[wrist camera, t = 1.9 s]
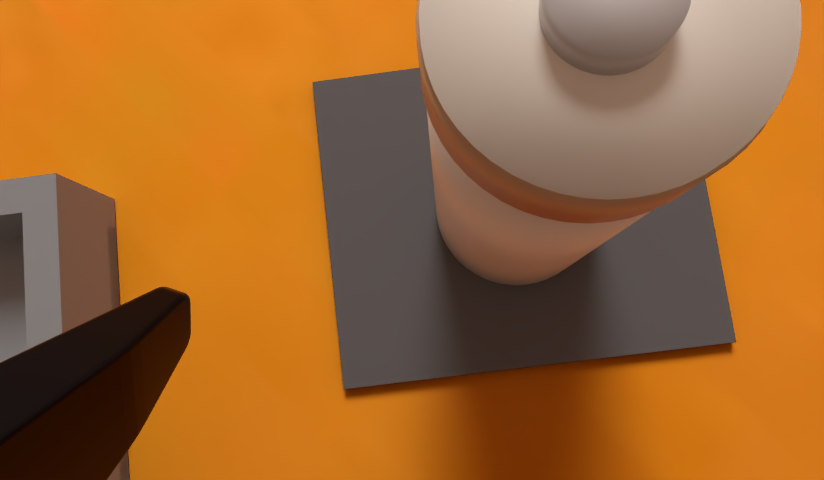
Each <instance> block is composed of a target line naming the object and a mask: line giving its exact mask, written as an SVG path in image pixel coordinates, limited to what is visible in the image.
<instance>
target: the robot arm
mask: <svg viewBox="0 0 824 480" xmlns="http://www.w3.org/2000/svg"><path fill="white" fill-rule="evenodd" d="M190 334H191V313H190V298H189V296H188V295H187V294H185V293H183V292H180V291H177V290H174V289H171V288H168V287H159V288H156V289H154V290H152V291H150V292H148V293H146V294H144V295H142V296H139V297H137V298H135V299H133V300H131V301H129V302H127V303H125V304H123V305H120V306H118V307H116V308H114V309H112V310H110V311H108V312H106V313H104V314H101V315H99V316H97V317H95V318H93V319H91V320H89V321H87V322H85V323H82V324H80V325H78V326H76V327H74V328H72V329H70V330H68V331H66V332H63V333H61V334H59V335H57V336H55V337H53V338H51V339H49V340H47V341H44V342H42V343H40V344H38V345H36V346H34V347H32V348H30V349H28V350H25V351H23V352H21V353H19V354H17V355H15V356H13V357H11V358H9V359H6V360H4V361H2V362H0V480H107V479H108V478H109V476H110V475H111V474H112V472H113V471H114V469H115V468H116V467H117V465H118V464H119V462H120V461H121V459H122V458H123V457H124V455H125V454H126V452H127V451H128V449H129V448H130V446H131V445H132V443H133V442H134V440H135V439H136V437H137V436H138V434H139V433H140V431H141V429H142V427H143V426H144V424H145V422H146V421H147V419H148V417H149V415H150V413H151V411H152V410H153V408H154V406H155V404H156V402H157V400H158V399H159V397H160V395H161V393H162V391H163V390H164V388H165V386H166V384H167V382H168V380H169V379H170V377H171V375H172V373H173V371H174V369H175V368H176V366H177V364H178V362H179V360H180V358H181V357H182V355H183V353H184V351H185V349H186V347H187V345H188V342H189V339H190Z"/></svg>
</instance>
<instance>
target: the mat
mask: <svg viewBox="0 0 824 480" xmlns="http://www.w3.org/2000/svg"><path fill="white" fill-rule="evenodd" d="M313 92H314V101H315V111H316V121H317V131H318V141H319V150H320V160H321V170H322V180H323V189H324V199H325V209H326V219H327V229H328V238H329V248H330V258H331V268H332V278H333V287H334V297H335V307H336V317H337V326H338V336H339V346H340V356H341V366H342V375H343V385H344V389H349V388H358V387H366V386H374V385H383V384H391V383H399V382H408V381H416V380H424V379H433V378H441V377H449V376H458V375H466V374H474V373H483V372H491V371H499V370H508V369H516V368H524V367H533V366H541V365H549V364H558V363H566V362H574V361H583V360H591V359H599V358H608V357H616V356H624V355H633V354H641V353H649V352H658V351H666V350H674V349H683V348H691V347H699V346H708V345H716V344H725V343H733V342H736V339H735V333H734V328H733V323H732V318H731V312H730V307H729V302H728V297H727V291H726V286H725V281H724V276H723V271H722V265H721V260H720V255H719V250H718V244H717V239H716V234H715V229H714V223H713V218H712V213H711V208H710V203H709V197H708V192H707V187H706V182H705V180H703V181H702V182H700V183H699V184H697V185H695V186H694V187H692V188H691V189H689V190H688V191H686V192H685V193H683V194H682V195H680V196H679V197H677V198H676V199H674V200H673V201H671V202H669V203H667V204H665V205H663V206H661V207H659V208H657V209H655V210H653V211H651V212H649V213H648V214H646V215H645V216H643V217H642V218H640V219H639V220H637V221H636V222H634V223H633V224H631V225H630V226H628V227H627V228H625V229H624V230H622V231H621V232H619V233H618V234H616V235H615V236H613V237H612V238H610V239H609V240H607V241H606V242H604V243H603V244H601V245H600V246H598V247H597V248H595V249H594V250H593V251H591V252H590V253H588V254H587V255H585V256H584V257H582V258H581V259H579V260H578V261H576V262H575V263H573V264H572V265H570V266H569V267H567V268H566V269H564V270H563V271H561V272H560V273H558V274H557V275H555V276H553V277H551V278H549V279H546V280H543V281H540V282H537V283H533V284H527V285H505V284H500V283H495V282H492V281H489V280H486V279H484V278H482V277H480V276H478V275H476V274H474V273H473V272H471V271H470V270H468V269H467V268H466V267H464V266H463V265H462V264H461V263H460V262H459V261H458V260H457V259H456V258H455V257H454V255H453V254H452V253H451V251H450V250H449V249H448V247H447V246H446V244H445V242H444V240H443V238H442V235H441V232H440V229H439V226H438V221H437V216H436V205H435V194H434V183H433V172H432V161H431V151H430V140H429V129H428V118H427V109H426V106H425V101H424V96H423V91H422V86H421V77H420V68H415V69H407V70H400V71H392V72H385V73H378V74H370V75H363V76H355V77H348V78H340V79H333V80H325V81H318V82H313Z"/></svg>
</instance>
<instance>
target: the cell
mask: <svg viewBox="0 0 824 480" xmlns="http://www.w3.org/2000/svg"><path fill="white" fill-rule="evenodd" d="M416 34H417V48H418V58H419V68H420V77H421V86H422V91H423V96H424V101H425V106H426V109H427V118H428V129H429V140H430V151H431V161H432V172H433V183H434V194H435V205H436V216H437V221H438V226H439V229H440V232H441V235H442V238H443V240H444V242H445V244H446V246H447V247H448V249H449V250H450V251H451V253H452V254H453V255H454V257H455V258H456V259H457V260H458V261H459V262H460V263H461V264H462V265H463V266H464V267H466V268H467V269H468V270H470V271H471V272H473V273H474V274H476V275H478V276H480V277H482V278H484V279H486V280H489V281H492V282H495V283H500V284H505V285H527V284H533V283H537V282H540V281H543V280H546V279H549V278H551V277H553V276H555V275H557V274H558V273H560V272H561V271H563V270H564V269H566V268H567V267H569V266H570V265H572V264H573V263H575V262H576V261H578V260H579V259H581V258H582V257H584V256H585V255H587V254H588V253H590V252H591V251H593V250H594V249H595V248H597V247H598V246H600V245H601V244H603V243H604V242H606V241H607V240H609V239H610V238H612V237H613V236H615V235H616V234H618V233H619V232H621V231H622V230H624V229H625V228H627V227H628V226H630V225H631V224H633V223H634V222H636V221H637V220H639V219H640V218H642V217H643V216H645V215H646V214H648V213H649V212H651V211H653V210H655V209H657V208H659V207H661V206H663V205H665V204H667V203H669V202H671V201H673V200H674V199H676V198H677V197H679V196H680V195H682V194H683V193H685V192H686V191H688V190H689V189H691V188H692V187H694V186H695V185H697V184H699V183H700V182H702V181H703V180H705V179H706V178H708V177H709V176H711V175H712V174H714V173H715V172H717V171H718V170H720V169H721V168H723V167H724V166H726V165H727V164H729V163H730V162H731V161H732V160H733V159H734V158H735V157H737V156H738V155H739V154H740V153H741V152H742V151H743V150H745V149H746V148H747V147H748V146H749V144H750V143H751V142H752V141H753V140H754V139H755V137H756V136H757V135H758V134H759V133H760V132H761V131H762V129H763V128H764V126H765V125H766V123H767V122H768V120H769V119H770V117H771V115H772V114H773V112H774V111H775V109H776V108H777V106H778V105H779V103H780V101H781V100H782V98H783V95H784V93H785V91H786V89H787V87H788V84H789V82H790V80H791V78H792V74H793V71H794V67H795V64H796V60H797V57H798V51H799V44H800V37H801V4H800V0H418V1H417V14H416Z"/></svg>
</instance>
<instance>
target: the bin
mask: <svg viewBox="0 0 824 480" xmlns="http://www.w3.org/2000/svg"><path fill="white" fill-rule="evenodd" d="M118 306H120V295H119V276H118V257H117V239H116V220H115V201H114V199H113V198H110V197H108V196H106V195H104V194H101V193H99V192H97V191H95V190H92V189H90V188H88V187H85V186H83V185H81V184H79V183H76V182H74V181H72V180H70V179H67V178H65V177H63V176H61V175H58V174H56V173H54V174H47V175H39V176H31V177H24V178H16V179H9V180H1V181H0V362H2V361H4V360H6V359H9V358H11V357H13V356H15V355H17V354H19V353H21V352H23V351H25V350H28V349H30V348H32V347H34V346H36V345H38V344H40V343H42V342H44V341H47V340H49V339H51V338H53V337H55V336H57V335H59V334H61V333H63V332H66V331H68V330H70V329H72V328H74V327H76V326H78V325H80V324H82V323H85V322H87V321H89V320H91V319H93V318H95V317H97V316H99V315H101V314H104V313H106V312H108V311H110V310H112V309H114V308H116V307H118ZM107 480H129V463H128V451H127V452H126V454H125V455H124V457H123V458H122V459H121V461H120V462H119V464H118V465H117V467H116V468H115V469H114V471H113V472H112V474H111V475H110V476H109V478H108V479H107Z"/></svg>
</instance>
